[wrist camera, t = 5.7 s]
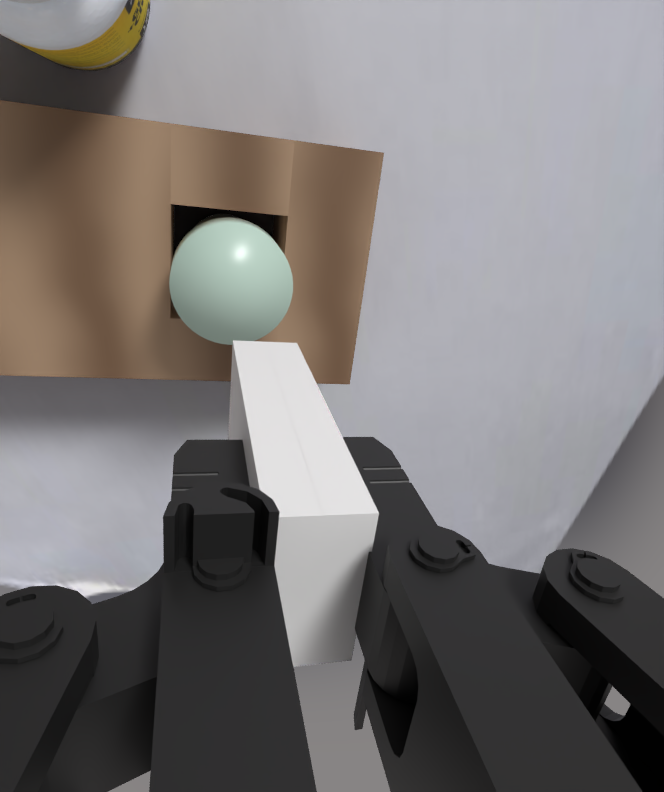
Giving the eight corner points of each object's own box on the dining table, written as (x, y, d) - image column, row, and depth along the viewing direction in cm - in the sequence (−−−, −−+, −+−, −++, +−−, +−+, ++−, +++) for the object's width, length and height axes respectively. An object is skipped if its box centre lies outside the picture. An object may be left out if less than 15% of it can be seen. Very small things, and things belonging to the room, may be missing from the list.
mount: (-196, 331, 28) (-268, 368, 24) (-271, 63, 23) (-380, 47, 19) (330, 352, 35) (349, 384, 31) (356, 149, 30) (383, 152, 26)
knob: (175, 294, 31) (169, 342, 24) (176, 196, 29) (169, 217, 22) (267, 299, 32) (287, 347, 25) (274, 207, 30) (298, 230, 23)
